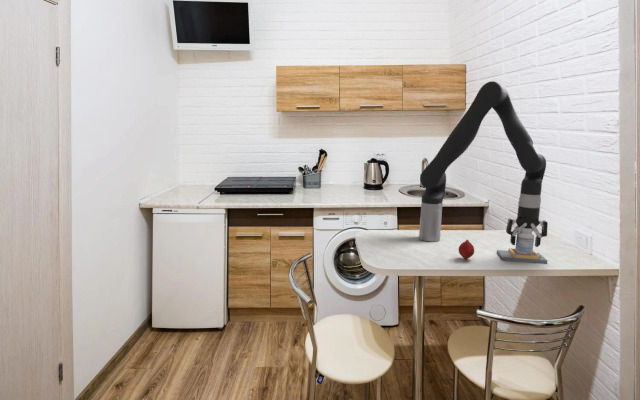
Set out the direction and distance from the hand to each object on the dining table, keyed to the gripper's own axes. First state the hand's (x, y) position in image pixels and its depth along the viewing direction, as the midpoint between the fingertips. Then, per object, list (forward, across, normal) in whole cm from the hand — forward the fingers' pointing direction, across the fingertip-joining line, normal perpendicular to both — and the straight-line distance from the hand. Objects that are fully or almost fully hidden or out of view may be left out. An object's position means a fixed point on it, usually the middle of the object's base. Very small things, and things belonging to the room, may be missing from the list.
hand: (524, 245), depth 158 cm
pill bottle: (+4, 0, 0) cm, 4 cm away
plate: (+5, -1, 0) cm, 5 cm away
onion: (+5, -23, -8) cm, 25 cm away
